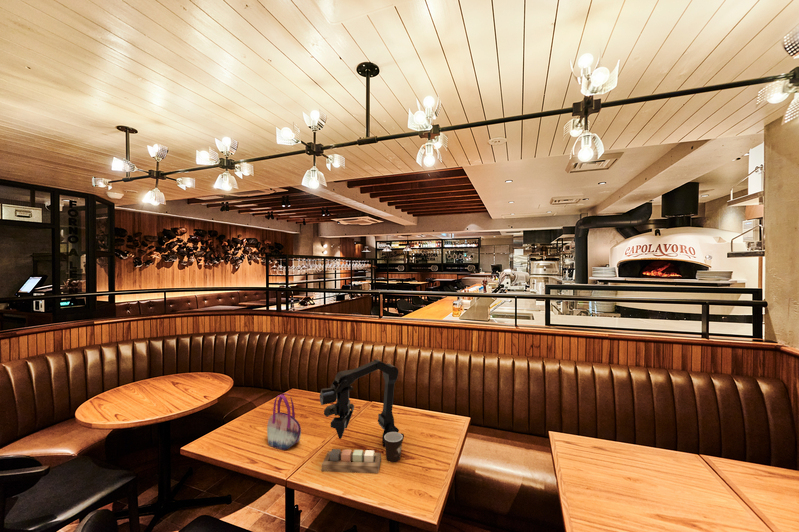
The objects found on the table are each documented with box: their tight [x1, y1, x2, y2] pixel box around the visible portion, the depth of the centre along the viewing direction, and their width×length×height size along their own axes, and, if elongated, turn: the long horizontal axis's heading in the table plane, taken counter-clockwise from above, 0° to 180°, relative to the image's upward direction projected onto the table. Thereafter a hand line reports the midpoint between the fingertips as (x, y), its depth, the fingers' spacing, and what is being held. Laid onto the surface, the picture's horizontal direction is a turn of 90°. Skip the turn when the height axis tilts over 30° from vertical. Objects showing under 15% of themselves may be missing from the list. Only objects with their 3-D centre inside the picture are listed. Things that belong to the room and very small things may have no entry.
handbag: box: [266, 392, 302, 451], centre depth 158 cm, size 21×10×25 cm, turn 66°
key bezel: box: [321, 450, 382, 474], centre depth 141 cm, size 25×10×3 cm, turn 86°
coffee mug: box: [384, 432, 405, 463], centre depth 147 cm, size 12×9×10 cm
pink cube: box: [340, 448, 353, 462], centre depth 141 cm, size 4×4×4 cm
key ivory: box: [364, 449, 375, 463], centre depth 141 cm, size 4×4×4 cm
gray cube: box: [330, 448, 342, 462], centre depth 142 cm, size 4×4×4 cm
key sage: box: [352, 449, 364, 462], centre depth 141 cm, size 4×4×4 cm
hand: (343, 433), depth 146 cm, fingers open, 9 cm apart
